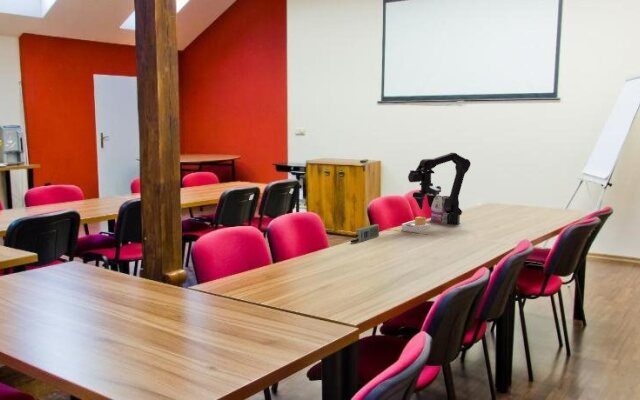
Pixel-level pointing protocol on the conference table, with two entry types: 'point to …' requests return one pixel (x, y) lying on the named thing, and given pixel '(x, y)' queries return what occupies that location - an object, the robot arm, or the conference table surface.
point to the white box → (413, 226)
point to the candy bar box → (439, 209)
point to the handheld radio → (366, 233)
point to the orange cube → (420, 220)
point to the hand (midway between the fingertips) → (425, 208)
